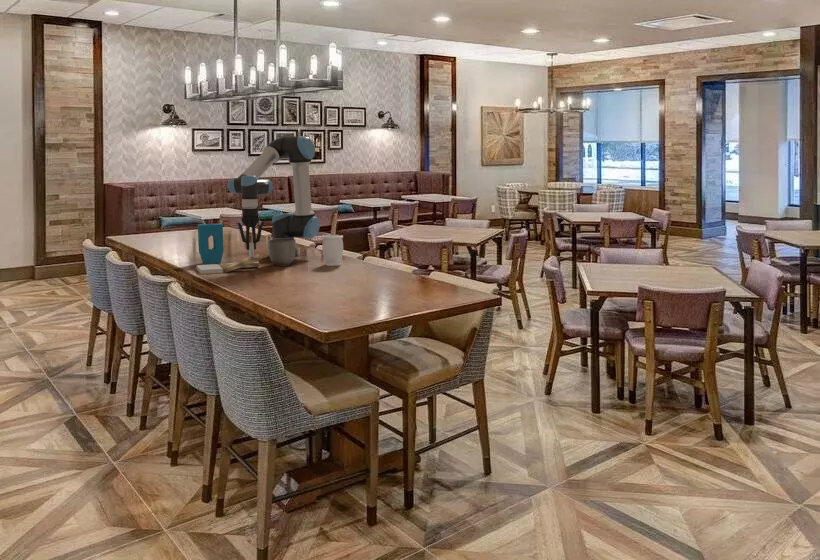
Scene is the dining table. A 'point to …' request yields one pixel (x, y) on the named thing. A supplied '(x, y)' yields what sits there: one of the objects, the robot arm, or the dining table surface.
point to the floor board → (209, 269)
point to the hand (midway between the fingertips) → (251, 256)
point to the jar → (332, 249)
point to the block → (203, 234)
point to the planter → (282, 251)
